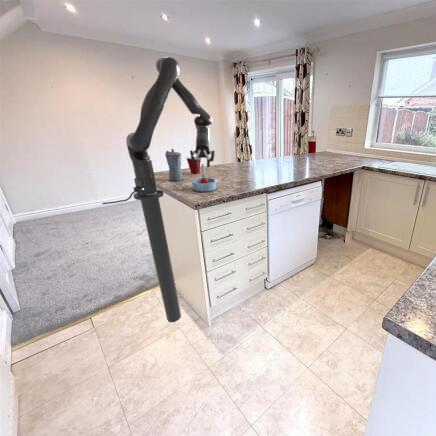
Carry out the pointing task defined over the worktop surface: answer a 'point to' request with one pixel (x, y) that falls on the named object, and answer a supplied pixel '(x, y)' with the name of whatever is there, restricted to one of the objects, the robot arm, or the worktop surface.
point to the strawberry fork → (203, 180)
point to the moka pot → (174, 165)
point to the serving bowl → (204, 185)
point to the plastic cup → (193, 165)
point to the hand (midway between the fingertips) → (202, 166)
